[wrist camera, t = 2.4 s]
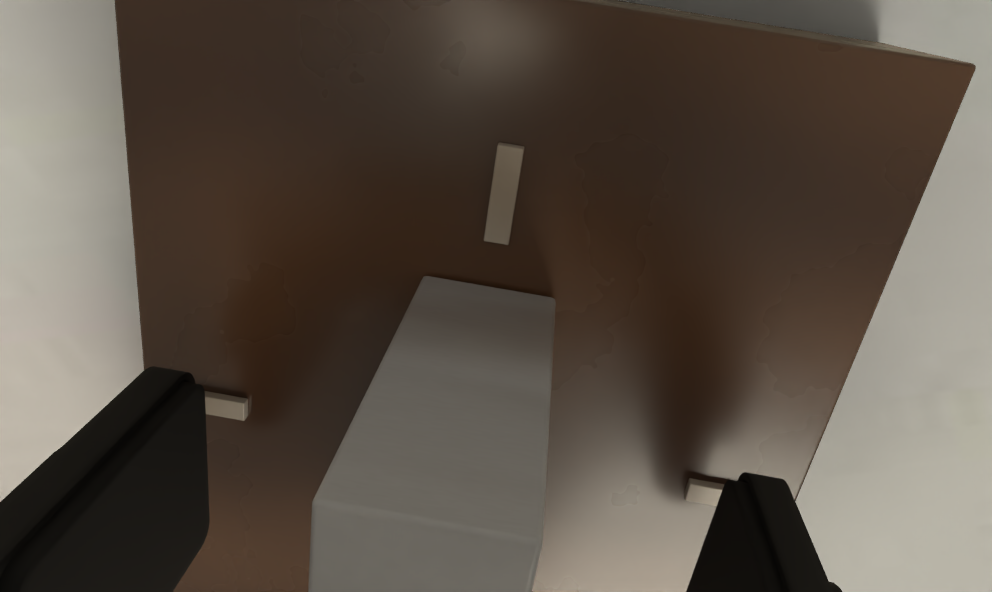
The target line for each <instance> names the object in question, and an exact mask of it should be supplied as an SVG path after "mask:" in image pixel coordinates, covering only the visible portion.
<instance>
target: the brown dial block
mask: <svg viewBox="0 0 992 592" xmlns="http://www.w3.org/2000/svg"><path fill="white" fill-rule="evenodd" d="M115 10H116V22H117V35H118V47H119V60H120V73H121V85H122V98H123V110H124V123H125V135H126V148H127V160H128V173H129V186H130V198H131V211H132V223H133V236H134V248H135V261H136V273H137V286H138V299H139V311H140V324H141V336H142V349H143V361H144V370H146V369H147V368H149V367H152V366H156V367H162V368H167V369H173V370H178V371H184V372H189V373H191V374H192V375H193V377H194V379H195V384H200V385H202V386H203V388H204V391H205V409H206V435H207V462H208V489H209V516H210V522H209V529H208V533H207V537H206V539H205V541H204V544H203V545H202V547H201V549H200V550H199V552H198V553H197V555H196V557H195V558H194V560H193V561H192V563H191V564H190V566H189V567H188V569H187V570H186V572H185V574H184V575H183V577H182V578H181V580H180V581H179V583H178V584H177V586H176V587H175V589H174V591H173V592H308V584H309V561H310V537H311V514H312V501H313V499H314V497H315V495H316V493H317V491H318V489H319V487H320V485H321V483H322V481H323V479H324V477H325V475H326V473H327V471H328V469H329V467H330V465H331V463H332V461H333V458H334V456H335V454H336V452H337V450H338V448H339V446H340V444H341V442H342V440H343V438H344V436H345V434H346V432H347V430H348V428H349V426H350V424H351V422H352V420H353V418H354V416H355V414H356V412H357V410H358V408H359V406H360V404H361V402H362V400H363V398H364V396H365V394H366V392H367V390H368V388H369V386H370V384H371V382H372V380H373V378H374V376H375V374H376V371H377V369H378V367H379V365H380V363H381V361H382V359H383V357H384V355H385V353H386V351H387V349H388V347H389V345H390V343H391V341H392V339H393V337H394V335H395V333H396V331H397V329H398V327H399V325H400V323H401V321H402V319H403V317H404V315H405V313H406V311H407V309H408V307H409V305H410V303H411V301H412V299H413V297H414V295H415V293H416V291H417V289H418V287H419V284H420V282H421V280H422V279H423V277H424V276H431V277H437V278H442V279H448V280H454V281H460V282H465V283H471V284H477V285H483V286H488V287H494V288H500V289H506V290H512V291H517V292H523V293H529V294H535V295H540V296H546V297H552V298H554V299H555V302H556V306H555V325H554V343H553V362H552V380H551V399H550V417H549V436H548V454H547V473H546V491H545V509H544V528H543V545H542V549H541V554H540V558H539V562H538V567H537V571H536V576H535V580H534V584H533V589H532V592H686V591H687V588H688V585H689V582H690V579H691V577H692V574H693V571H694V568H695V565H696V563H697V560H698V557H699V554H700V551H701V549H702V546H703V543H704V540H705V537H706V535H707V532H708V529H709V526H710V523H711V521H712V518H713V515H714V512H715V509H716V507H717V504H718V501H719V498H720V495H721V493H722V490H723V487H724V485H725V483H726V482H727V480H735V481H737V480H738V478H739V476H740V475H741V474H742V473H744V472H747V473H753V474H759V475H764V476H770V477H775V478H781V479H783V480H785V481H786V483H787V484H788V486H789V488H790V491H791V493H792V495H793V498H794V500H795V501H796V498H797V496H798V493H799V491H800V489H801V486H802V484H803V481H804V479H805V477H806V474H807V472H808V469H809V467H810V465H811V462H812V460H813V457H814V455H815V453H816V450H817V448H818V445H819V443H820V441H821V438H822V436H823V433H824V431H825V429H826V426H827V424H828V421H829V419H830V417H831V414H832V412H833V409H834V407H835V405H836V402H837V400H838V397H839V395H840V393H841V390H842V388H843V385H844V383H845V381H846V378H847V376H848V373H849V371H850V369H851V366H852V364H853V361H854V359H855V357H856V354H857V352H858V349H859V347H860V345H861V342H862V340H863V337H864V335H865V333H866V330H867V328H868V325H869V323H870V321H871V318H872V316H873V313H874V311H875V309H876V306H877V304H878V301H879V299H880V297H881V294H882V292H883V289H884V287H885V285H886V282H887V280H888V277H889V275H890V273H891V270H892V268H893V265H894V263H895V261H896V258H897V256H898V253H899V251H900V249H901V246H902V244H903V241H904V239H905V237H906V234H907V232H908V229H909V227H910V225H911V222H912V220H913V217H914V215H915V213H916V210H917V208H918V205H919V203H920V201H921V198H922V196H923V193H924V191H925V189H926V186H927V184H928V181H929V179H930V177H931V174H932V172H933V169H934V167H935V165H936V162H937V160H938V157H939V155H940V153H941V150H942V148H943V145H944V143H945V141H946V138H947V136H948V133H949V131H950V129H951V126H952V124H953V121H954V119H955V117H956V114H957V112H958V109H959V107H960V105H961V102H962V100H963V97H964V95H965V93H966V90H967V88H968V85H969V83H970V81H971V78H972V76H973V73H974V71H975V67H976V66H975V65H974V64H972V63H967V62H963V61H959V60H954V59H950V58H945V57H941V56H937V55H932V54H928V53H924V52H919V51H915V50H910V49H906V48H902V47H897V46H893V45H888V44H884V43H879V42H873V41H867V40H861V39H854V38H848V37H842V36H836V35H829V34H823V33H817V32H811V31H804V30H798V29H792V28H786V27H780V26H773V25H767V24H761V23H755V22H748V21H742V20H736V19H730V18H723V17H717V16H711V15H705V14H698V13H692V12H686V11H680V10H673V9H667V8H661V7H655V6H649V5H642V4H636V3H630V2H624V1H617V0H115Z"/></svg>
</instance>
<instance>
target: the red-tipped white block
mask: <svg viewBox="0 0 992 592" xmlns="http://www.w3.org/2000/svg"><path fill="white" fill-rule="evenodd" d="M555 306H556V302H555V299H554V298H552V297H546V296H540V295H535V294H529V293H523V292H517V291H512V290H506V289H500V288H494V287H488V286H483V285H477V284H471V283H465V282H460V281H454V280H448V279H442V278H437V277H431V276H424V277H423V279H422V280H421V282H420V284H419V287H418V289H417V291H416V293H415V295H414V297H413V299H412V301H411V303H410V305H409V307H408V309H407V311H406V313H405V315H404V317H403V319H402V321H401V323H400V325H399V327H398V329H397V331H396V333H395V335H394V337H393V339H392V341H391V343H390V345H389V347H388V349H387V351H386V353H385V355H384V357H383V359H382V361H381V363H380V365H379V367H378V369H377V371H376V374H375V376H374V378H373V380H372V382H371V384H370V386H369V388H368V390H367V392H366V394H365V396H364V398H363V400H362V402H361V404H360V406H359V408H358V410H357V412H356V414H355V416H354V418H353V420H352V422H351V424H350V426H349V428H348V430H347V432H346V434H345V436H344V438H343V440H342V442H341V444H340V446H339V448H338V450H337V452H336V454H335V456H334V458H333V461H332V463H331V465H330V467H329V469H328V471H327V473H326V475H325V477H324V479H323V481H322V483H321V485H320V487H319V489H318V491H317V493H316V495H315V497H314V499H313V501H312V514H311V537H310V561H309V584H308V592H532V589H533V584H534V580H535V576H536V571H537V567H538V562H539V558H540V554H541V549H542V545H543V528H544V509H545V491H546V473H547V454H548V436H549V417H550V399H551V380H552V362H553V343H554V325H555Z"/></svg>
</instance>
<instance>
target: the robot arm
mask: <svg viewBox="0 0 992 592" xmlns="http://www.w3.org/2000/svg"><path fill="white" fill-rule="evenodd" d="M209 522H210V516H209V489H208V462H207V435H206V409H205V391H204V388H203V386H202V385H200V384H195V379H194V377H193V375H192V374H191V373H189V372H184V371H178V370H173V369H167V368H162V367H156V366H152V367H149V368H147V369H146V370H144V371H143V372H142V373H141V374H140V375H139V376H138V377H137V378H136V379H135V380H134V381H132V382H131V383H130V384H129V385H128V386H127V387H126V388H125V389H124V390H123V391H122V392H121V393H120V394H118V395H117V396H116V397H115V398H114V399H113V400H112V401H111V402H110V403H109V404H108V405H107V406H105V407H104V408H103V409H102V410H101V411H100V412H99V413H98V414H97V415H96V416H95V417H94V418H93V419H91V420H90V421H89V422H88V423H87V424H86V425H85V426H84V427H83V428H82V429H81V430H80V431H79V432H77V433H76V434H75V435H74V436H73V437H72V438H71V439H70V440H69V441H68V442H67V443H66V444H64V445H63V446H62V447H61V448H60V449H58V450H57V451H56V452H54V453H53V454H52V455H51V456H50V457H49V458H48V459H47V460H45V461H44V462H43V463H42V464H41V465H40V466H39V467H38V468H37V469H36V470H35V471H34V472H32V473H31V474H30V475H29V476H28V477H27V478H26V479H25V480H24V481H23V482H22V483H21V484H19V485H18V486H17V487H16V488H15V489H14V490H13V491H12V492H11V493H10V494H9V495H8V496H6V497H5V498H4V499H3V500H2V501H1V502H0V592H173V591H174V589H175V587H176V586H177V584H178V583H179V581H180V580H181V578H182V577H183V575H184V574H185V572H186V570H187V569H188V567H189V566H190V564H191V563H192V561H193V560H194V558H195V557H196V555H197V553H198V552H199V550H200V549H201V547H202V545H203V544H204V541H205V539H206V537H207V533H208V529H209ZM686 592H842V591H841V589H840V588H839V587H838V586H837V585H836V584H834V583H832V582H829V581H828V579H827V576H826V574H825V572H824V569H823V567H822V565H821V562H820V560H819V557H818V555H817V553H816V550H815V548H814V545H813V543H812V541H811V538H810V536H809V534H808V531H807V529H806V526H805V524H804V522H803V519H802V517H801V514H800V512H799V510H798V507H797V505H796V503H795V500H794V498H793V495H792V493H791V491H790V488H789V486H788V484H787V483H786V481H785V480H783V479H781V478H775V477H770V476H764V475H759V474H753V473H747V472H744V473H742V474H741V475H740V476H739V478H738V480H737V481H735V480H727V482H726V483H725V485H724V487H723V490H722V493H721V495H720V498H719V501H718V504H717V507H716V509H715V512H714V515H713V518H712V521H711V523H710V526H709V529H708V532H707V535H706V537H705V540H704V543H703V546H702V549H701V551H700V554H699V557H698V560H697V563H696V565H695V568H694V571H693V574H692V577H691V579H690V582H689V585H688V588H687V591H686Z"/></svg>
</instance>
